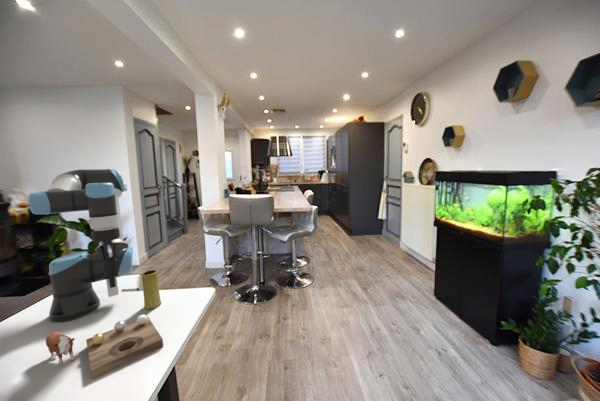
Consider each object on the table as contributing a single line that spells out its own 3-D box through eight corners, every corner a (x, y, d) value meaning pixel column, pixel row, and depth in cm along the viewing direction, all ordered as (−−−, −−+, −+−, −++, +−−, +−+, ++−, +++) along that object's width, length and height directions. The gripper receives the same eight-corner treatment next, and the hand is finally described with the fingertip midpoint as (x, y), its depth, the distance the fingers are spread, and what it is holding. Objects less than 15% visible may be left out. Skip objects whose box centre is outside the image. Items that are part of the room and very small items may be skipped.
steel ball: (113, 331, 81) (112, 322, 81) (125, 326, 83) (124, 317, 83) (115, 335, 79) (114, 326, 79) (127, 330, 81) (126, 321, 81)
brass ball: (91, 344, 75) (89, 334, 75) (104, 339, 77) (103, 329, 77) (91, 349, 73) (90, 339, 72) (105, 344, 75) (104, 334, 75)
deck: (87, 346, 78) (86, 339, 77) (148, 323, 89) (147, 316, 89) (92, 379, 65) (91, 370, 65) (163, 346, 77) (162, 338, 76)
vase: (151, 301, 105) (148, 269, 104) (164, 301, 104) (161, 269, 103) (140, 309, 99) (136, 275, 98) (154, 309, 98) (150, 275, 97)
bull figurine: (60, 374, 67) (56, 346, 66) (45, 356, 74) (41, 331, 73) (81, 363, 71) (77, 336, 70) (65, 347, 78) (61, 323, 77)
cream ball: (136, 324, 85) (134, 315, 84) (146, 320, 87) (145, 311, 87) (138, 328, 82) (137, 319, 82) (149, 323, 85) (148, 315, 84)
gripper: (89, 228, 85) (97, 293, 88) (92, 232, 76) (101, 305, 78) (115, 224, 91) (123, 286, 93) (122, 228, 81) (130, 297, 84)
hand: (113, 295), depth 86 cm, fingers closed
